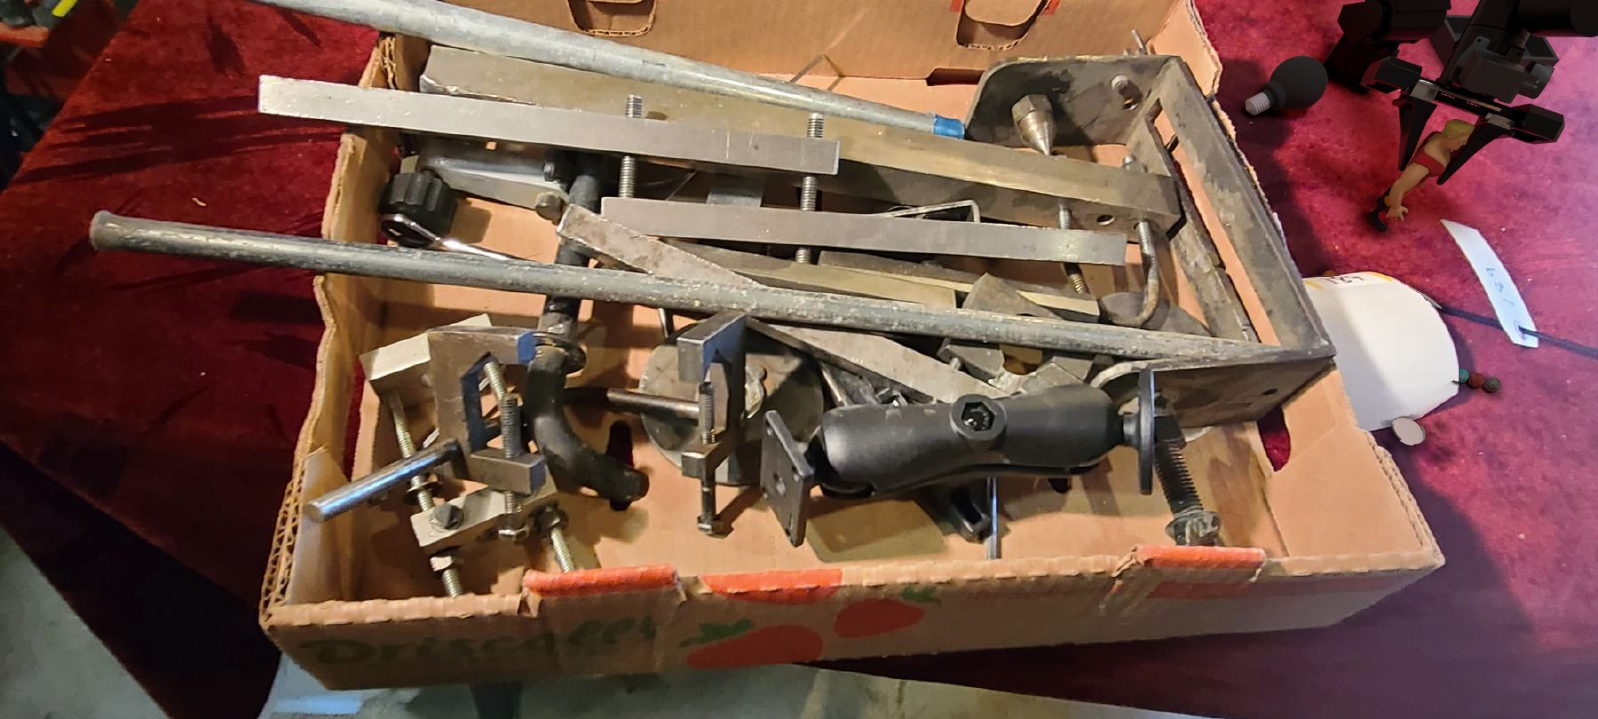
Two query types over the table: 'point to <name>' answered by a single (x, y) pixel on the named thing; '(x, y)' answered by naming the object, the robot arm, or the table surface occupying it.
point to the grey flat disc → (1408, 431)
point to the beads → (1479, 380)
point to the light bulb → (1291, 86)
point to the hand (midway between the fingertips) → (1419, 177)
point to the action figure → (1422, 168)
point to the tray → (1455, 26)
